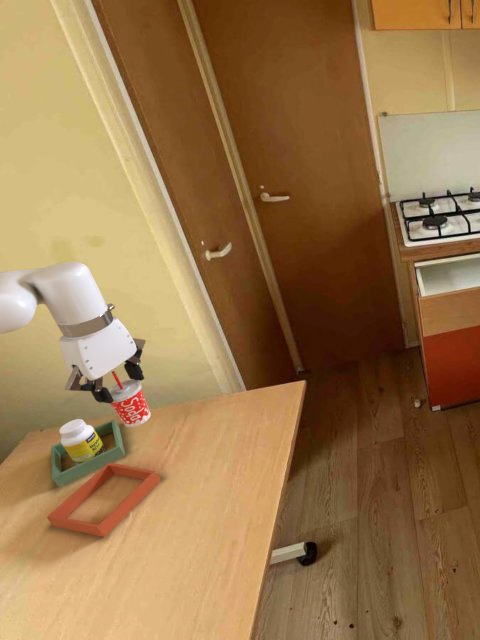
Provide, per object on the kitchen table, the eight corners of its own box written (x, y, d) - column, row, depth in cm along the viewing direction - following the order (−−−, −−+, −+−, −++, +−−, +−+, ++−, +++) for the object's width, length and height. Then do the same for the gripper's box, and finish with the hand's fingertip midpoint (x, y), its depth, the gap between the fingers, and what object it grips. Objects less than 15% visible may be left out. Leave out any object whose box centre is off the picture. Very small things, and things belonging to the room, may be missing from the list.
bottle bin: (58, 456, 98) (50, 446, 97) (120, 429, 105) (114, 418, 104) (60, 489, 91) (51, 478, 90) (126, 457, 98) (119, 446, 97)
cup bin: (55, 527, 84) (46, 517, 82) (115, 472, 95) (108, 462, 93) (106, 539, 82) (97, 528, 81) (162, 481, 93) (155, 471, 91)
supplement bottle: (102, 460, 97) (82, 430, 92) (71, 469, 95) (49, 439, 90) (109, 442, 101) (90, 413, 97) (80, 450, 99) (59, 421, 95)
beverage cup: (117, 434, 92) (90, 386, 85) (123, 414, 96) (97, 367, 90) (152, 423, 95) (128, 375, 88) (156, 405, 99) (134, 358, 93)
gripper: (114, 297, 92) (145, 361, 100) (18, 347, 76) (64, 418, 84) (144, 301, 91) (172, 365, 99) (52, 352, 75) (95, 424, 83)
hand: (122, 389), depth 91 cm, fingers closed on beverage cup, 6 cm apart
